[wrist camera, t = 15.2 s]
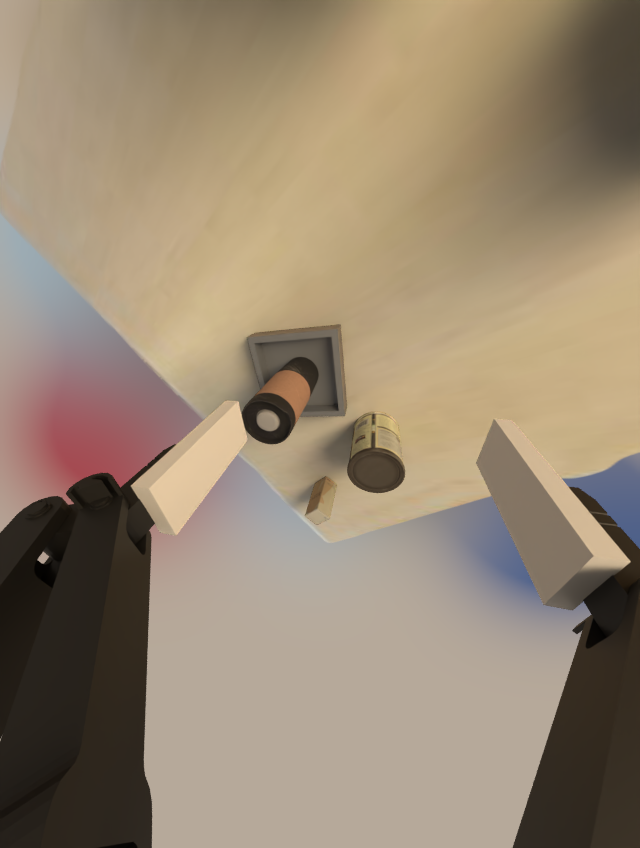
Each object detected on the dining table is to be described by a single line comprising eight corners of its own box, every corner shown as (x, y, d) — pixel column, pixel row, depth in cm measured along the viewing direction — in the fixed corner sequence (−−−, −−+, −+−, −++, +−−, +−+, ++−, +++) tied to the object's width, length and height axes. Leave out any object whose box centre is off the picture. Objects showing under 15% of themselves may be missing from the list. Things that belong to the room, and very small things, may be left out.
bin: (255, 332, 50) (246, 337, 47) (340, 324, 46) (337, 328, 43) (274, 408, 59) (268, 416, 56) (347, 407, 55) (344, 416, 52)
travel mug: (279, 378, 53) (234, 428, 37) (293, 347, 49) (250, 389, 33) (309, 396, 54) (279, 453, 38) (326, 368, 50) (300, 418, 34)
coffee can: (386, 454, 60) (387, 500, 48) (346, 438, 60) (338, 480, 48) (408, 422, 54) (416, 465, 42) (365, 404, 54) (361, 442, 42)
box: (326, 475, 67) (318, 508, 58) (337, 485, 68) (331, 518, 59) (313, 483, 70) (303, 516, 61) (324, 492, 71) (316, 526, 62)
